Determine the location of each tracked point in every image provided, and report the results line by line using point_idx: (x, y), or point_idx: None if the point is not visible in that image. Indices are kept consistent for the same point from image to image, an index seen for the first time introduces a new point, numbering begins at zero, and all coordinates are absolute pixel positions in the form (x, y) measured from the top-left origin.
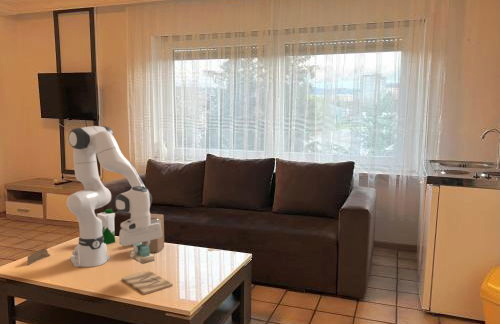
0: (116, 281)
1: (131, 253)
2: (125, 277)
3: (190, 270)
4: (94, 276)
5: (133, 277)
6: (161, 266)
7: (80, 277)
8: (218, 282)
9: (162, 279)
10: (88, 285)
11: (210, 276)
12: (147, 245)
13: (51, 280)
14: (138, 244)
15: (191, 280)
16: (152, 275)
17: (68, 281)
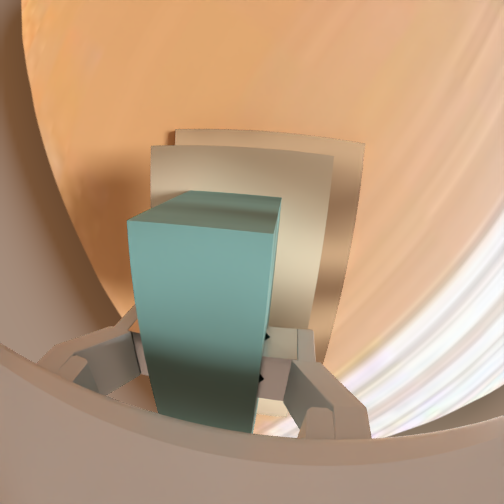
0: (151, 131)
1: (152, 187)
2: (194, 139)
3: (483, 297)
4: (118, 13)
5: None
6: (459, 135)
7: (83, 4)
8: (419, 424)
9: (325, 319)
10: (60, 102)
11: (455, 384)
12: (289, 412)
13: (31, 3)
14: (181, 312)
15: (400, 377)
16: (329, 235)
17: (45, 28)
